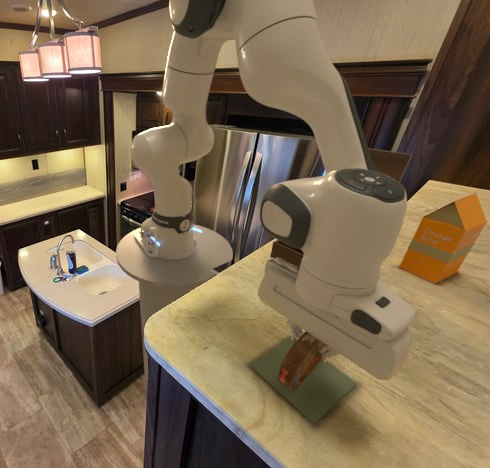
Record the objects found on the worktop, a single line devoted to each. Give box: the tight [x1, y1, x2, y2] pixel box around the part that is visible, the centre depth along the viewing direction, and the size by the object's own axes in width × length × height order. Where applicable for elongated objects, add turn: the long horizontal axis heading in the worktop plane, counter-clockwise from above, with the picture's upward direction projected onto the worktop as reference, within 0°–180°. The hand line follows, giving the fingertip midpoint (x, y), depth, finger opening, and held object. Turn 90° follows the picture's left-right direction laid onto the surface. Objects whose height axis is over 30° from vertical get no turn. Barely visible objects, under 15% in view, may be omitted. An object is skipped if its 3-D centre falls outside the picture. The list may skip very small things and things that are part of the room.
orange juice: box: [398, 193, 488, 284], centre depth 68 cm, size 8×9×20 cm
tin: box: [277, 331, 328, 391], centre depth 49 cm, size 15×3×8 cm, turn 126°
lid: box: [368, 147, 413, 184], centre depth 71 cm, size 20×13×5 cm
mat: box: [249, 336, 358, 425], centre depth 51 cm, size 12×12×1 cm
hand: (309, 349), depth 48 cm, fingers closed on tin, 3 cm apart
